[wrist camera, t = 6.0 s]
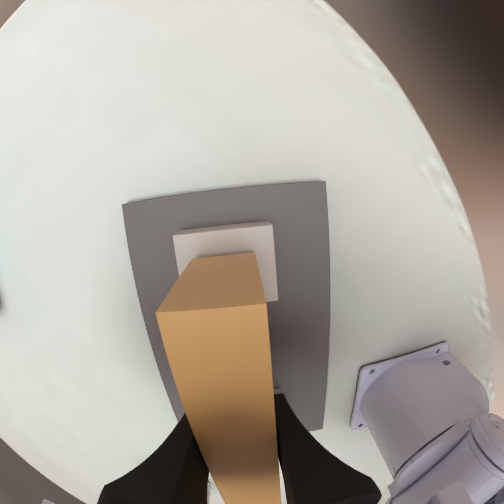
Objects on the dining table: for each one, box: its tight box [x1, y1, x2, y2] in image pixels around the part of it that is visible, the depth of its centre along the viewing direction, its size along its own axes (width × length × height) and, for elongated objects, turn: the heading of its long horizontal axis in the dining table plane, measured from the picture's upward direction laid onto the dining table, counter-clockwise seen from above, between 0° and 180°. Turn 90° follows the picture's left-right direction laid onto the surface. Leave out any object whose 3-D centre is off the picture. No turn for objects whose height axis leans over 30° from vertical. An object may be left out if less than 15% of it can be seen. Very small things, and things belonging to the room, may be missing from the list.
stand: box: [122, 181, 330, 431], centre depth 16 cm, size 12×20×4 cm, turn 5°
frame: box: [156, 252, 281, 504], centre depth 12 cm, size 3×14×6 cm, turn 6°
